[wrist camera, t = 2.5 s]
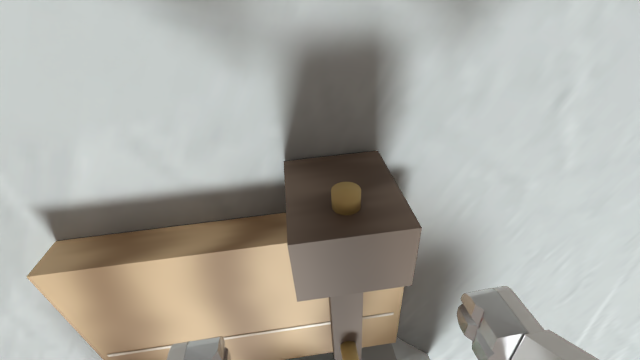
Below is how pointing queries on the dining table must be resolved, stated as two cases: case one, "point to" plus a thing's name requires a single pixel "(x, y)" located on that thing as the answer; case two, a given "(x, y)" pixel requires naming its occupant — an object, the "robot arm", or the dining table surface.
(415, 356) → the perfume bottle
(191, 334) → the board
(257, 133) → the dining table surface
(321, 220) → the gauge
